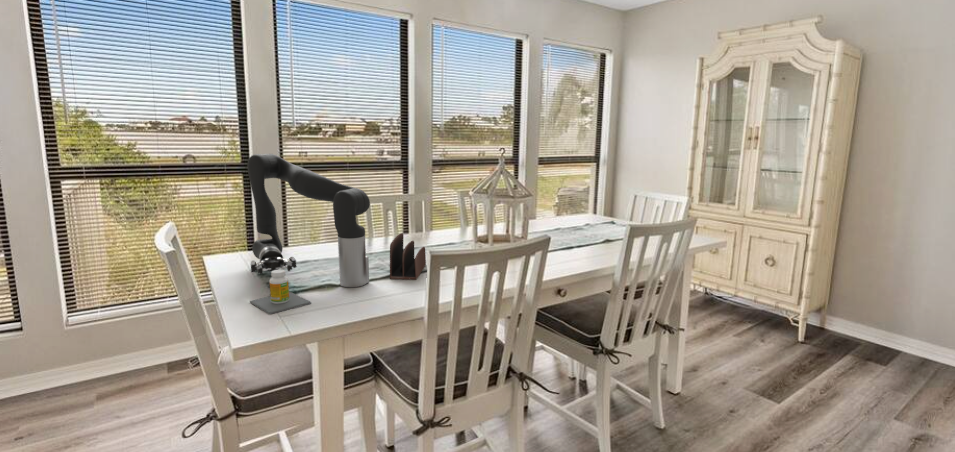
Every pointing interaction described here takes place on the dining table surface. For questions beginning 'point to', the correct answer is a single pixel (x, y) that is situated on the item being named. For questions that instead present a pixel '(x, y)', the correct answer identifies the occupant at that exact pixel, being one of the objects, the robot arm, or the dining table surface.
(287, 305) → the mat
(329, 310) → the dining table surface
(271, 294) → the supplement bottle
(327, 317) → the dining table surface
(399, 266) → the letter holder
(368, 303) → the dining table surface
